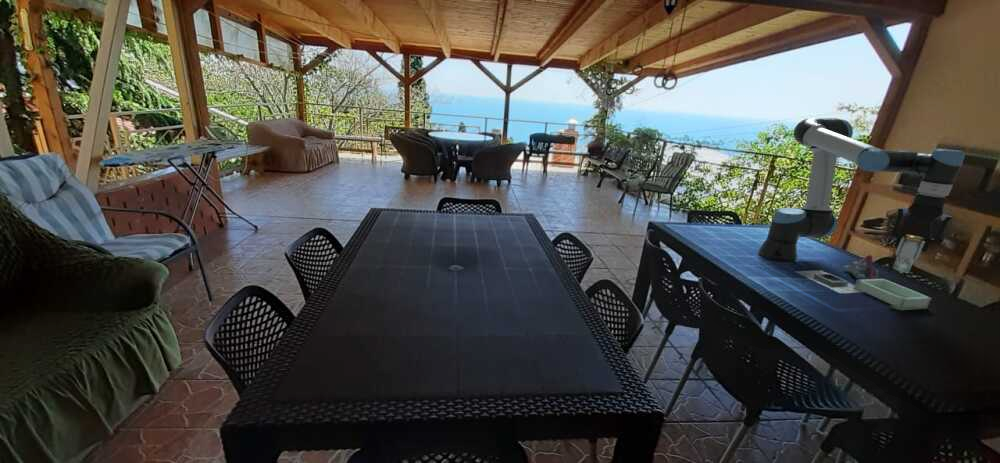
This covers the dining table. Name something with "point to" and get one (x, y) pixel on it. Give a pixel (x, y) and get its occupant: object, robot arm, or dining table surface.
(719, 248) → the dining table surface
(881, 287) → the bin
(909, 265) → the jar with gold lid
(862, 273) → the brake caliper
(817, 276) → the stud plate
